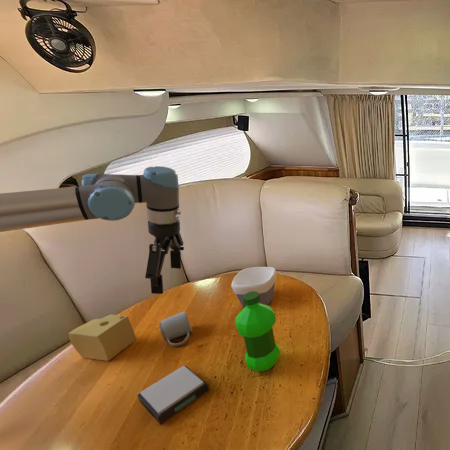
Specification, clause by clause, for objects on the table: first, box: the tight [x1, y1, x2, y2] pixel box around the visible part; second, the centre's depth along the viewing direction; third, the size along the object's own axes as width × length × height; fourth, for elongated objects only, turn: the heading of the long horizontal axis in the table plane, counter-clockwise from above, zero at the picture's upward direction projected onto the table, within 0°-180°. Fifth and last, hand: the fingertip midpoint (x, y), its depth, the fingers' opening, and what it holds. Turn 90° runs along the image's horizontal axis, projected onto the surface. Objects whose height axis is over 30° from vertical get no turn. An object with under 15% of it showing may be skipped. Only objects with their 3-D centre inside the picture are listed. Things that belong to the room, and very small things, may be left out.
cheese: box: [68, 314, 137, 362], centre depth 99 cm, size 10×11×10 cm
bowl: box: [230, 266, 277, 308], centre depth 125 cm, size 15×15×11 cm
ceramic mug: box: [158, 310, 193, 347], centre depth 105 cm, size 11×8×8 cm
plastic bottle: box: [234, 291, 281, 373], centre depth 91 cm, size 10×10×25 cm
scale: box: [136, 365, 210, 426], centre depth 84 cm, size 12×12×3 cm
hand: (167, 279), depth 99 cm, fingers open, 13 cm apart
